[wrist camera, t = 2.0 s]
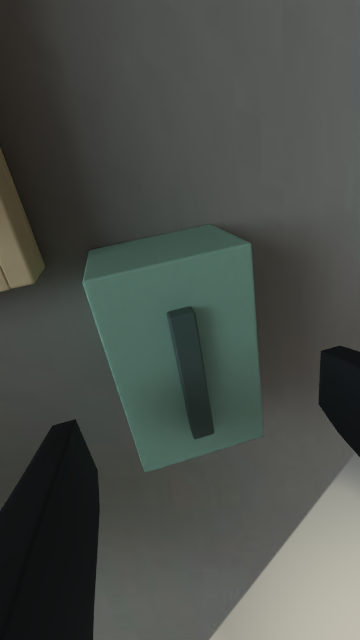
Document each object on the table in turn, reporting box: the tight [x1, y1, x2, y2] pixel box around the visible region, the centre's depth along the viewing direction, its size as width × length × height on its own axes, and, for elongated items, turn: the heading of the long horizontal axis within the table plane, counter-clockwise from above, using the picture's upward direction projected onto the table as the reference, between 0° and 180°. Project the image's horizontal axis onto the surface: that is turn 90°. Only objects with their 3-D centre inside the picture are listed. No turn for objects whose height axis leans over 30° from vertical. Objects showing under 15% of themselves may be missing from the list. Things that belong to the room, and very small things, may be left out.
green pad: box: [83, 224, 264, 472], centre depth 12 cm, size 5×8×4 cm, turn 10°
